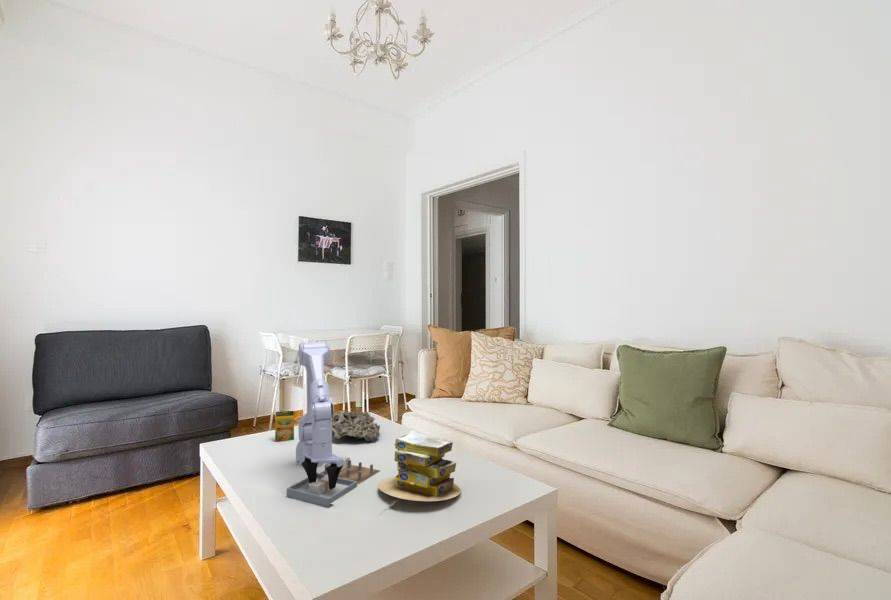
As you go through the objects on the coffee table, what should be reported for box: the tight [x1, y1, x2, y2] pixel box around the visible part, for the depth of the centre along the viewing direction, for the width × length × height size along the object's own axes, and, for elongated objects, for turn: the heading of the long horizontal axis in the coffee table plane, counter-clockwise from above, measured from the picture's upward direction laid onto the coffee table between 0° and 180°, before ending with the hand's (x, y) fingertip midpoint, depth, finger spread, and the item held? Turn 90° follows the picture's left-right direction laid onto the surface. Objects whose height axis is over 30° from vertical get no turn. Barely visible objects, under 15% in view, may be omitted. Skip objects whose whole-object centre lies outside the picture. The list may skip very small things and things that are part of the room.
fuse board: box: [320, 459, 381, 485], centre depth 149 cm, size 17×12×4 cm
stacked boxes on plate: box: [377, 429, 461, 502], centre depth 136 cm, size 25×25×17 cm
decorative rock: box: [331, 409, 381, 443], centre depth 192 cm, size 22×26×10 cm
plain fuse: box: [325, 455, 351, 474], centre depth 151 cm, size 3×8×3 cm, turn 154°
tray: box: [286, 472, 358, 509], centre depth 136 cm, size 16×13×2 cm
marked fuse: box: [308, 475, 330, 496], centre depth 136 cm, size 3×8×3 cm, turn 154°
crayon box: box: [274, 410, 295, 442], centre depth 186 cm, size 7×3×12 cm, turn 111°
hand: (322, 485), depth 136 cm, fingers open, 7 cm apart
